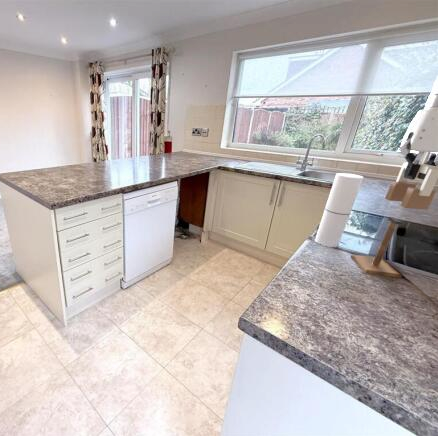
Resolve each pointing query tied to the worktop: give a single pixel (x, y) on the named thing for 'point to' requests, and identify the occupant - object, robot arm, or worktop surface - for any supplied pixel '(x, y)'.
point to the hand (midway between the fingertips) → (415, 178)
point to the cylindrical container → (338, 209)
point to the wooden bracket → (409, 193)
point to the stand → (380, 255)
